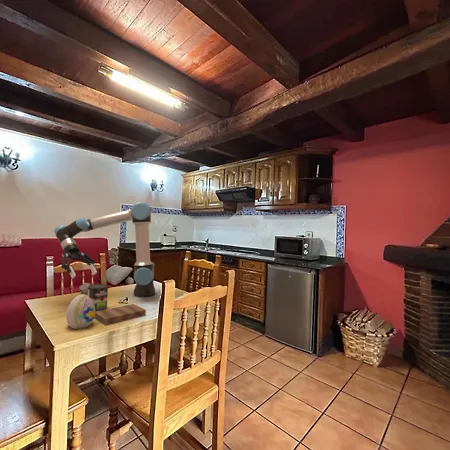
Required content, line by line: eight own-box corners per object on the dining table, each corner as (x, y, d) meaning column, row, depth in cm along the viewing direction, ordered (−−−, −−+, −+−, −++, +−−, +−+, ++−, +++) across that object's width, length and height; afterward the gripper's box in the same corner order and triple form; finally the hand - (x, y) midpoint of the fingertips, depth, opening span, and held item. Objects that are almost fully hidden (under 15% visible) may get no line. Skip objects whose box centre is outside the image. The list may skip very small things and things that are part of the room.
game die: (82, 298, 180) (79, 285, 184) (95, 293, 183) (92, 281, 187) (78, 295, 172) (75, 282, 176) (91, 290, 175) (88, 277, 179)
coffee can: (110, 310, 147) (111, 286, 147) (92, 315, 139) (93, 289, 139) (101, 306, 154) (102, 283, 154) (83, 310, 145) (84, 285, 146)
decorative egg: (80, 332, 117) (82, 299, 117) (59, 328, 121) (60, 296, 121) (100, 323, 129) (101, 293, 129) (80, 319, 132) (81, 290, 133)
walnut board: (132, 308, 152) (133, 303, 152) (145, 315, 143) (145, 309, 143) (93, 317, 136) (94, 311, 136) (105, 325, 127) (105, 319, 127)
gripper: (85, 250, 170) (100, 275, 163) (45, 252, 147) (60, 282, 141) (91, 242, 168) (106, 268, 161) (52, 244, 145) (67, 274, 139)
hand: (85, 275), depth 151 cm, fingers open, 13 cm apart
